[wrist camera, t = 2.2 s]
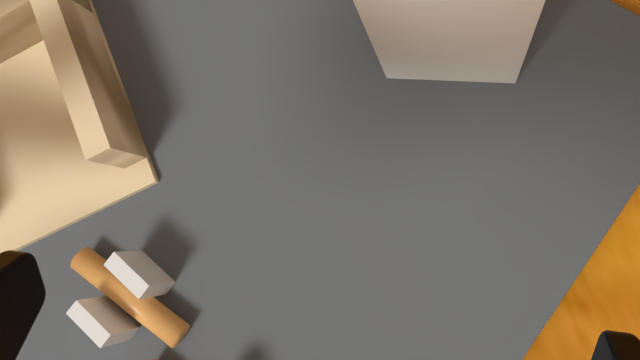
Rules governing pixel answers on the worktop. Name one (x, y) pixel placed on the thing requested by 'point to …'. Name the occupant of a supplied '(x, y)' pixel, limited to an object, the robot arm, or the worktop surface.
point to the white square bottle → (451, 37)
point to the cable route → (124, 298)
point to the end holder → (61, 122)
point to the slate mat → (352, 185)
